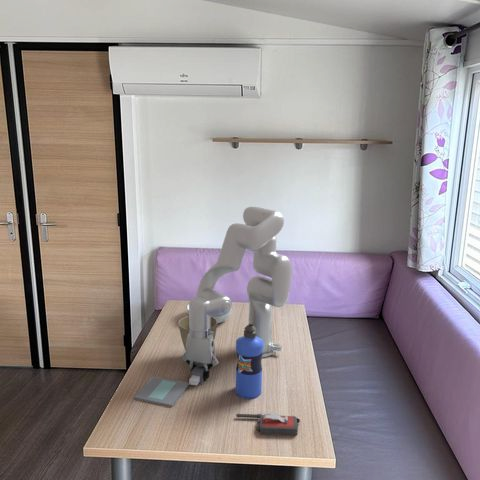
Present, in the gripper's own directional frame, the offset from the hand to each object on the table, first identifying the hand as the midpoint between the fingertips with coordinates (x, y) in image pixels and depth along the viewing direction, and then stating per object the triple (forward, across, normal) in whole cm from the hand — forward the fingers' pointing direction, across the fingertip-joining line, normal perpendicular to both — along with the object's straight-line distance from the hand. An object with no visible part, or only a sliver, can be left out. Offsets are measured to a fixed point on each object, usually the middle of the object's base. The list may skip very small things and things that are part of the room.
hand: (200, 377), depth 169 cm
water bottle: (+1, -19, +2) cm, 19 cm away
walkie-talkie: (+1, -30, +18) cm, 35 cm away
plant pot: (+1, +6, -13) cm, 14 cm away
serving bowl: (+1, +15, -49) cm, 51 cm away
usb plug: (0, 0, +1) cm, 1 cm away
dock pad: (0, +9, +12) cm, 15 cm away
